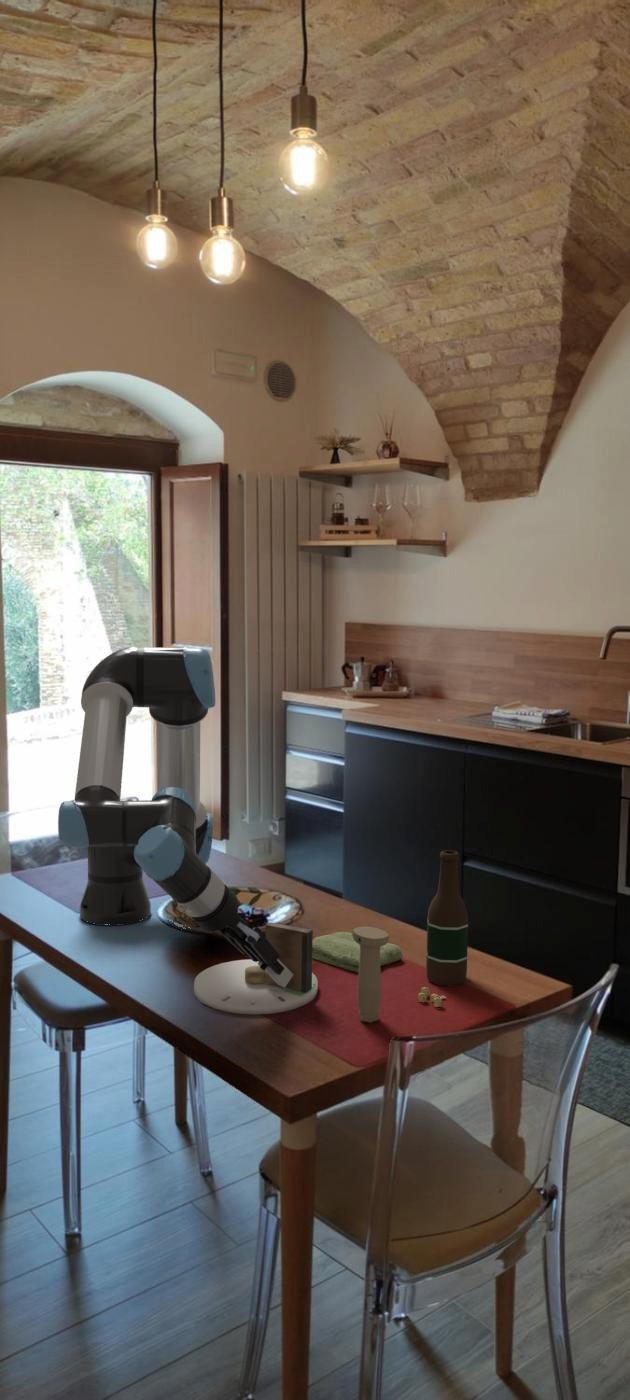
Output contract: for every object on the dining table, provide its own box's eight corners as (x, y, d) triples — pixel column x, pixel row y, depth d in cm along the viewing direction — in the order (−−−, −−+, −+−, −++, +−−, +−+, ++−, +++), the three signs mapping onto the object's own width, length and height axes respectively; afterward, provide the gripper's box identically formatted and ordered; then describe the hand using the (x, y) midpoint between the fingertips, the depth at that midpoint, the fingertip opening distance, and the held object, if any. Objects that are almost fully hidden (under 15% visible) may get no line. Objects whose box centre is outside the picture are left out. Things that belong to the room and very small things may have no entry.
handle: (367, 1009, 180) (369, 924, 178) (392, 1022, 175) (394, 935, 173) (345, 1016, 177) (346, 930, 176) (370, 1029, 172) (372, 940, 170)
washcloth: (339, 939, 217) (339, 924, 216) (406, 961, 204) (406, 945, 204) (294, 955, 207) (294, 939, 207) (361, 979, 195) (362, 962, 195)
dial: (218, 961, 202) (219, 953, 202) (330, 974, 196) (330, 965, 196) (175, 1005, 181) (175, 996, 180) (298, 1021, 175) (298, 1011, 175)
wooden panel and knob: (240, 981, 187) (241, 922, 186) (252, 973, 191) (252, 916, 190) (303, 995, 182) (304, 934, 180) (314, 987, 185) (315, 928, 184)
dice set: (439, 1012, 181) (440, 1001, 181) (412, 1006, 183) (412, 995, 183) (450, 1002, 186) (450, 991, 185) (423, 996, 188) (423, 986, 188)
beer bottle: (417, 973, 197) (421, 848, 194) (454, 969, 200) (458, 845, 197) (436, 989, 190) (440, 858, 187) (474, 983, 193) (479, 855, 190)
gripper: (171, 909, 174) (250, 986, 186) (217, 929, 164) (297, 1009, 176) (198, 873, 177) (274, 951, 189) (245, 890, 167) (323, 972, 179)
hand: (285, 979), depth 183 cm, fingers closed
